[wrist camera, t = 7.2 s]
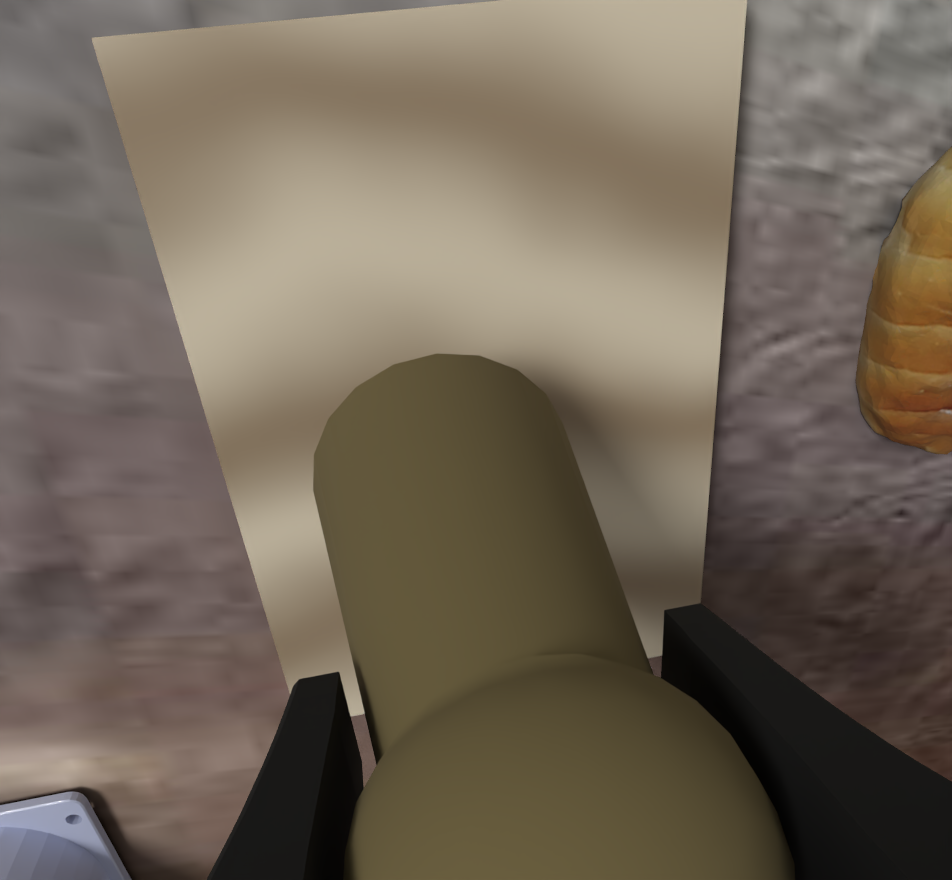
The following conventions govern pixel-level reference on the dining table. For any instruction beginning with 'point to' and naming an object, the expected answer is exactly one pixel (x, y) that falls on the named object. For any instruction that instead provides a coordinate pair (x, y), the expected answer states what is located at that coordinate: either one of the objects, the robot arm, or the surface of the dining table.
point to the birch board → (447, 251)
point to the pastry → (912, 321)
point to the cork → (510, 655)
